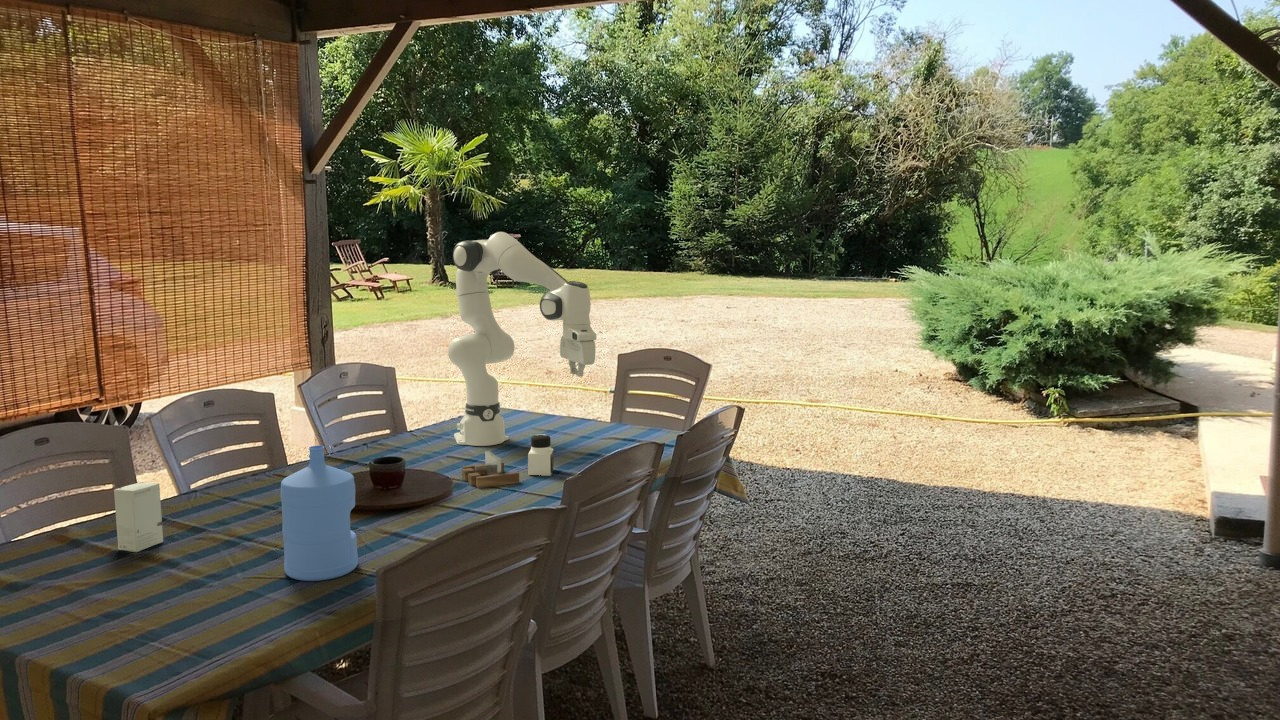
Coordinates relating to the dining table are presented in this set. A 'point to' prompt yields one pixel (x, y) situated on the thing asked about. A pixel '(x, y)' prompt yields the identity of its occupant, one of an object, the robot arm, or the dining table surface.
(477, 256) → the robot arm
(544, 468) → the medicine bottle
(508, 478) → the lane
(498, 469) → the block
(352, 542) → the water jug
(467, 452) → the dining table surface
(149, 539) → the skincare box
